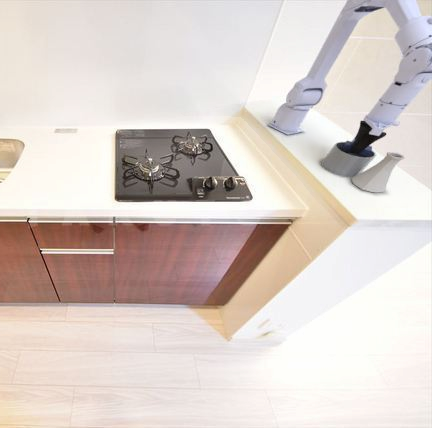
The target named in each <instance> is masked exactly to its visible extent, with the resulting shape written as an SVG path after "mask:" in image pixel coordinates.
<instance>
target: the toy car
mask: <svg viewBox="0 0 432 428" xmlns="http://www.w3.org/2000/svg"><path fill="white" fill-rule="evenodd" d="M356 139H357V137H356V136H354V137H353V138H352V140H346V141H344V142H345V144H344V145H343V146H342V150H341V151H343V152H345V153H347V154H348V153H352V154H356V155H358V157H364V158H365V157H367V156H368V155H369V154H370V153H371V151H372V150H373V146H372V145H369V146H368V147H367V148H366V149H364V150H363V151H362V152H361V153H359V154H357V153H353V152H350V150H351V148H352V146H353V144H354V142H355V141H356Z"/></svg>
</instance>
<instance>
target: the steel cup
mask: <svg viewBox="0 0 432 428" xmlns="http://www.w3.org/2000/svg"><path fill="white" fill-rule="evenodd" d="M345 142H346V141H337V142H336V143H334V145H333V146H332V148H331V149H330V150H329V151H328V153H327V154H326V156H325V157H324V159H323V160H322V162H321V166H322V167H323V168H324V169H325V170H326V171H328V172H330V173H331V174H334V175H338V176H341V177H347V178H353V177H355V176H357V175H359V174H360V173H362V172H364V171H365V169H366V168H367V167H368V166H369V165H370V163H371V162H372V161H373V160H374V159H375V158H376V156H377V153H376V152H375V150H373V149H372V151H371V153H370V154H369V155H368V156H367V157H365V158H364V157H358V155H356V154H352V153H348V154H347V153H345V152H343V151H341V150H342V146H343V145H344V144H345Z"/></svg>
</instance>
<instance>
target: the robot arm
mask: <svg viewBox="0 0 432 428" xmlns="http://www.w3.org/2000/svg"><path fill="white" fill-rule="evenodd" d="M382 9H386V10H387V12H388V14H389V15H390V18H391V19H392V20H393V22H394V24H395V25H396V27H397V29H398V31H396V33H395V34H394V41H395V43H396V46H397V48H398V50H399V52H400V54H401V57H402V58H401V60H400V62H399V64H398V71H397V72H396V74H395V75H394V76H393V78H394V79H393V81H392V82H391V83H390V85H389V86H388V87H387V89H386V90H385V91H384V92H383V94H382V95H381V96H380V97H379V99H378V100H377V102H376V103H375V104H374V105H373V106H372V108H371V109H370V110H369V112H368V113H367V114H366V115H365V116H364V117H363V120H360V121H359V128H358V130H357V132H356V135H355V137H357V139H356V141H355V142H354V144H353V146H352V148H351V150H350V152H353V153H357V154H359V153H361V152H362V151H363V150H364V149H366V148H367V147H368V146H372V144H374V143H375V142H377V141H378V140H380V139H383V138H384V137H386V136H387V132H384V131H385V130H386V129H389V128H390V127H392V126H394V127H398V126H399V125H400V124H401V123H400V121H398V120H397V119H398V118H399V117H400V116H401V115H402V114H403V113H404V111H405V110H406V109H407V108H408V106H409V105H410V104H411V103H412V102H413V101H414V100H415V99H416V97H417V96H418V95H419V94H420V92H422V90H423V89H424V88H425V87H426V85H428V83H429V82H430V81H432V15H422V12H421V10H420V6H419V4H418V1H417V0H346V2H345V4H344V6H343V7H342V8H341V11H340V12H339V14H338V16H337V18H336V19H335V22H334V24H333V25H332V27H331V29H330V31H329V33H328V35H327V37H326V39H325V41H324V43H323V44H322V46H321V48H320V50H319V52H318V54H317V55H316V57H315V59H314V61H313V63H312V65H311V67H310V69H309V71H308V73H307V74H306V76H305V77H303V78H301V79H300V80H298V81H296V82H295V83H294V85H293V86H292V88H291V89H290V90H289V91H288V93H287V94H286V97H285V102H284V103H283V104H281V105H280V106H279V107H278V109H277V110H276V112H275V114H274V117H273V118H272V121H271V123H269V124H268V126H269V127H271V128H272V129H274V130H277V131H278V132H281V133H283V134H285V135H287V136H288V135H289V136H290V135H294V134H298V133H302V132H303V131H304V130H303V129H300V128H301V125H302V123H304V120H305V118H306V117H307V115H308V113H309V111H310V109H311V110H312V109H313V108H314V106H316V105H318V104H320V102H321V101H322V100H323V99H324V94H325V91H326V89H327V87H328V84H327V82H326V78H327V76H328V74H329V73H330V71H331V69H332V67H333V66H334V64H335V62H336V61H337V59H338V57H339V56H340V54H341V52H342V50H343V49H344V47H345V46H346V43H347V42H348V40H349V39H350V37H351V35H352V34H353V32H354V30H355V28H356V26H357V25H358V23H359V21H360V20H362V19H363V18H366V17H367V16H368V15H370V14H372V13H374V12H377V11H380V10H382Z"/></svg>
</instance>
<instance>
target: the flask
mask: <svg viewBox="0 0 432 428" xmlns="http://www.w3.org/2000/svg"><path fill="white" fill-rule="evenodd" d="M404 159H405V156H404V154H401V153H399V152H396V151H395V152H394V151H389V152H388V151H387V152H386V155H385V157H383V158H382V159H381V160H380V161H378V162H377V163H375V165H373V166H371V167H369V168H368V169H366V170H363V171H362V172H361V173H360V174H359V175H357V176H355V177H351V182H352V184H353V185H354V186H356V187H357V188H359V189H361V190H363V191H367V192H370V193H385V192H386V191H385V190H386V188H387V185H388V182H389V179H390V177H391V174H392V172H393V170H394V169H395V167H396V166H397V164H399V162H401V161H402V160H404Z"/></svg>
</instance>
